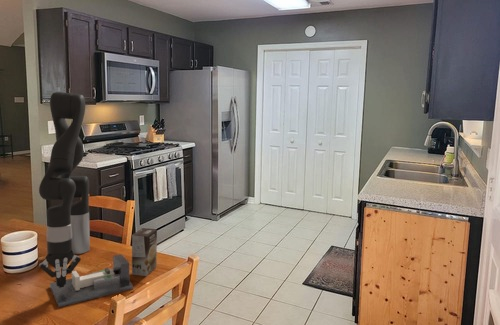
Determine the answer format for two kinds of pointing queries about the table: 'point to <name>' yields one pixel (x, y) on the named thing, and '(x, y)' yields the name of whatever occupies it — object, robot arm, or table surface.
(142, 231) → the coffee box
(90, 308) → the table surface
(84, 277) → the plunger
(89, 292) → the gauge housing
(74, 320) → the table surface
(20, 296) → the table surface
